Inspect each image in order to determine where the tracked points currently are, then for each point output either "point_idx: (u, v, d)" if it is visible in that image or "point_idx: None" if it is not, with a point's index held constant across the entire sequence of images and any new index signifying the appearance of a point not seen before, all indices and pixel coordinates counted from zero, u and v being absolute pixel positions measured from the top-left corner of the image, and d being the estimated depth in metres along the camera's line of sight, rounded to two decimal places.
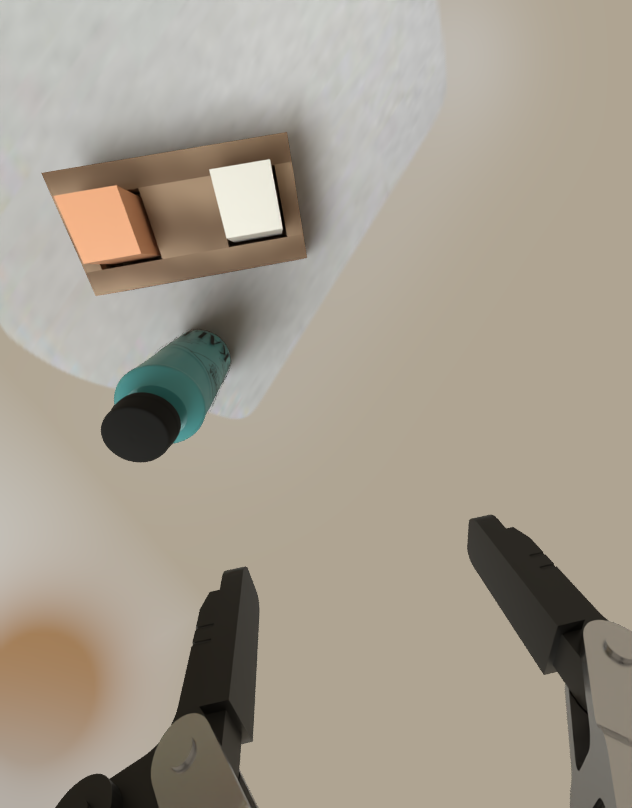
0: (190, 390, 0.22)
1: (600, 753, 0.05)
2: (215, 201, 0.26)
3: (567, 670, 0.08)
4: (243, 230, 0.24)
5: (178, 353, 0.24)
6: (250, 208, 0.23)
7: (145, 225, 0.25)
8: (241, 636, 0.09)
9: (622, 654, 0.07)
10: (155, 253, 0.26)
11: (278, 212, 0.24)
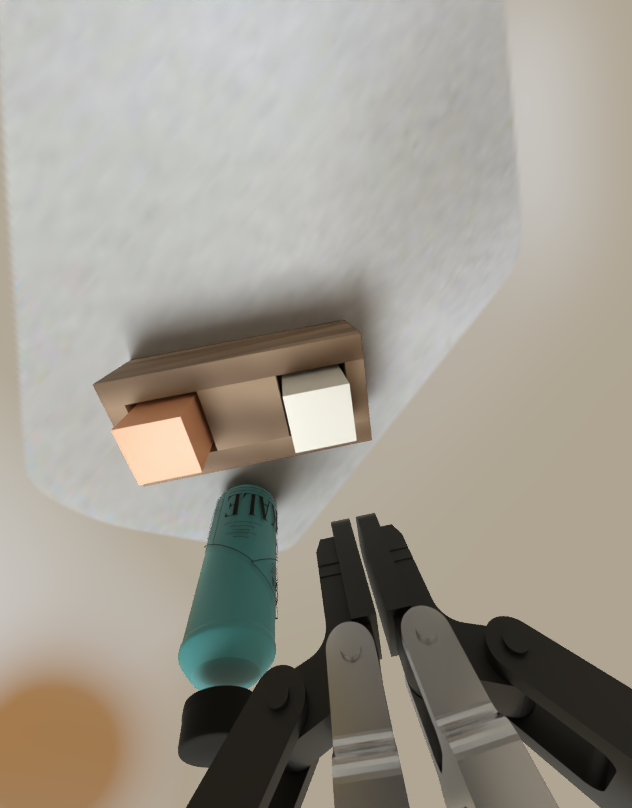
0: (263, 647, 0.19)
1: (451, 759, 0.06)
2: (278, 397, 0.23)
3: (400, 652, 0.08)
4: (314, 445, 0.22)
5: (240, 574, 0.22)
6: (323, 426, 0.21)
7: (201, 424, 0.23)
8: None
9: (425, 634, 0.07)
10: (210, 446, 0.24)
11: (353, 427, 0.21)
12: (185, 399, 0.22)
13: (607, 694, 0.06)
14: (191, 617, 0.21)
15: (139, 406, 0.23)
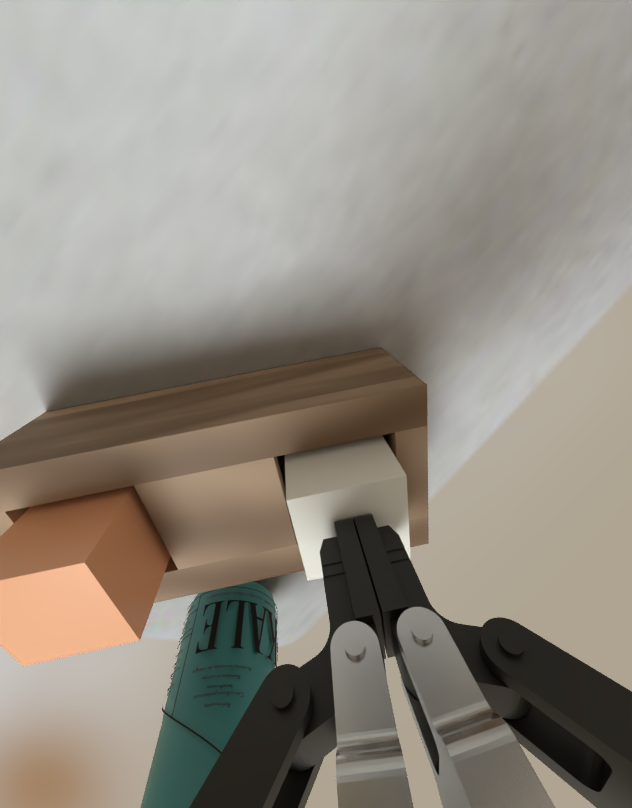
0: None
1: (447, 761, 0.06)
2: (279, 490, 0.14)
3: (396, 653, 0.08)
4: None
5: None
6: None
7: (147, 536, 0.14)
8: None
9: (420, 636, 0.07)
10: (165, 565, 0.15)
11: (407, 540, 0.13)
12: (114, 500, 0.13)
13: (602, 693, 0.06)
14: None
15: (34, 510, 0.13)
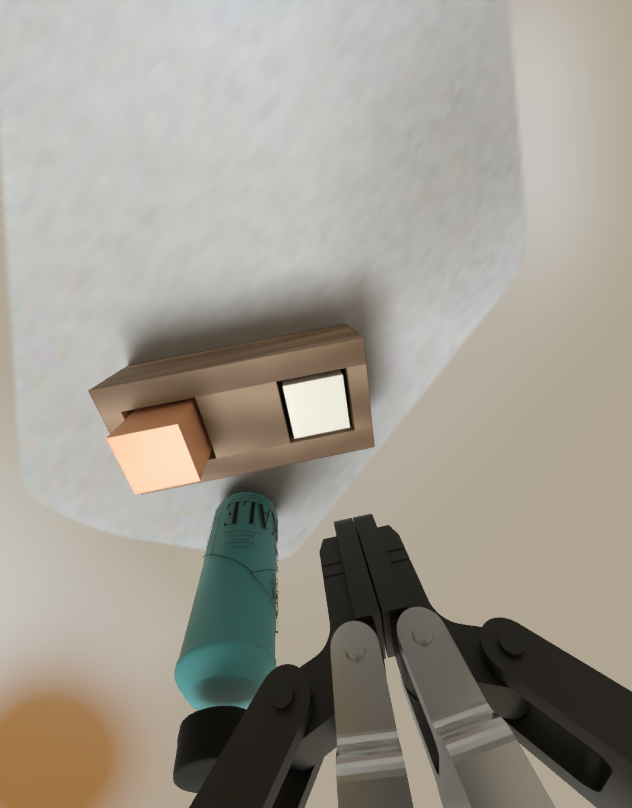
0: (263, 664, 0.19)
1: (447, 761, 0.06)
2: (279, 404, 0.23)
3: (396, 653, 0.08)
4: (311, 431, 0.24)
5: (240, 586, 0.22)
6: (319, 413, 0.23)
7: (200, 431, 0.23)
8: None
9: (420, 635, 0.07)
10: (209, 454, 0.24)
11: (347, 415, 0.24)
12: (183, 405, 0.22)
13: (602, 694, 0.06)
14: (188, 632, 0.20)
15: (136, 413, 0.22)
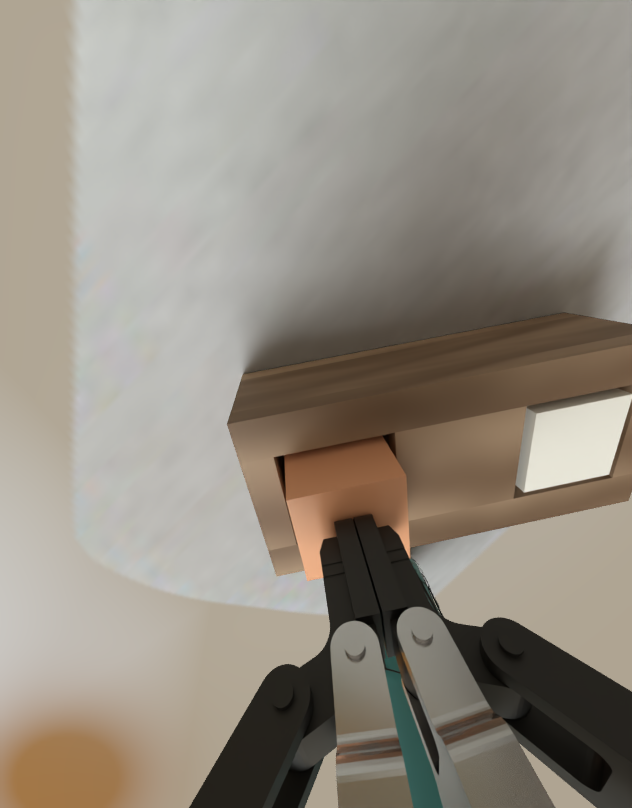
0: None
1: (447, 761, 0.06)
2: (518, 441, 0.14)
3: (396, 652, 0.08)
4: (552, 481, 0.15)
5: None
6: (575, 454, 0.15)
7: None
8: None
9: (420, 636, 0.07)
10: None
11: (612, 456, 0.15)
12: None
13: (602, 694, 0.06)
14: None
15: None
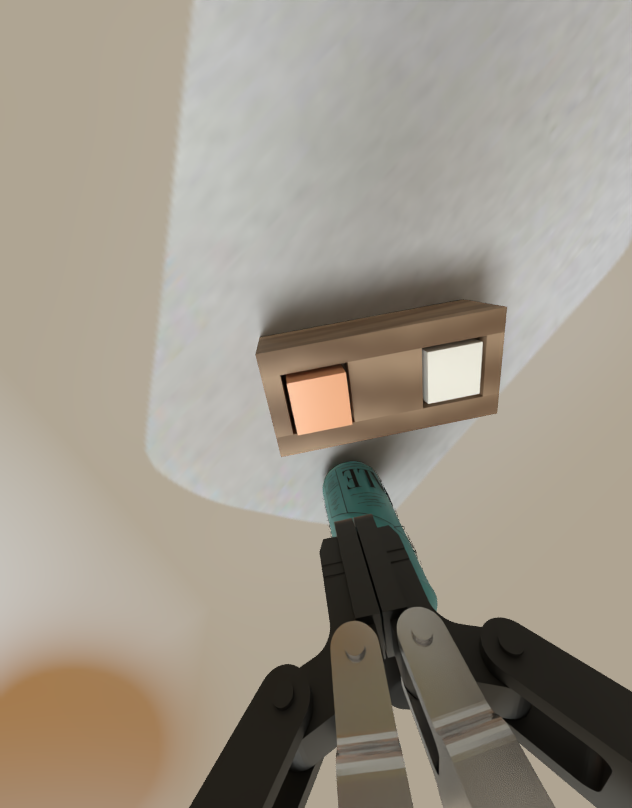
0: (433, 602, 0.20)
1: (447, 761, 0.06)
2: (420, 370, 0.24)
3: (396, 652, 0.08)
4: (444, 397, 0.25)
5: None
6: (455, 379, 0.25)
7: None
8: None
9: (420, 636, 0.07)
10: None
11: (479, 381, 0.25)
12: None
13: (602, 694, 0.06)
14: None
15: None
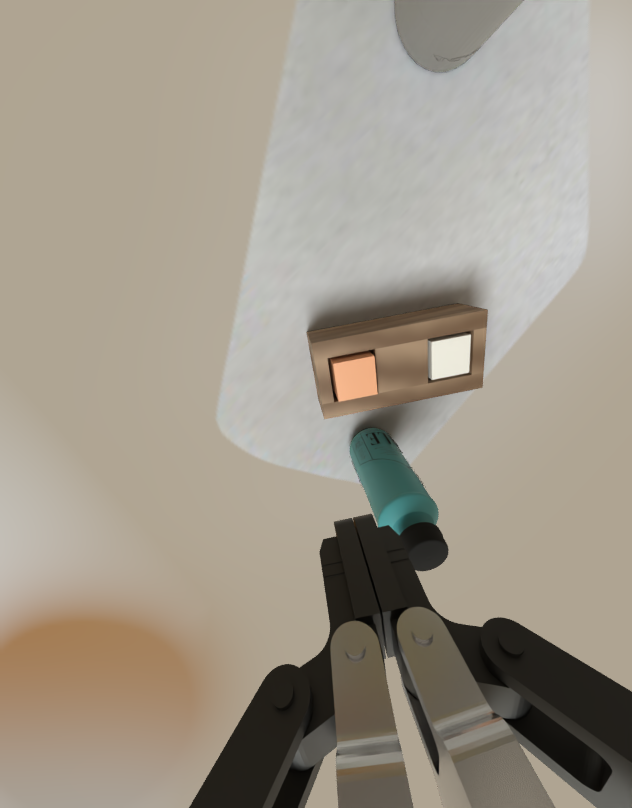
0: (435, 510, 0.30)
1: (447, 761, 0.06)
2: (426, 354, 0.34)
3: (396, 652, 0.08)
4: (443, 375, 0.35)
5: (405, 472, 0.33)
6: (451, 362, 0.35)
7: None
8: None
9: (420, 635, 0.07)
10: None
11: (468, 363, 0.35)
12: None
13: (603, 694, 0.06)
14: (381, 495, 0.31)
15: None
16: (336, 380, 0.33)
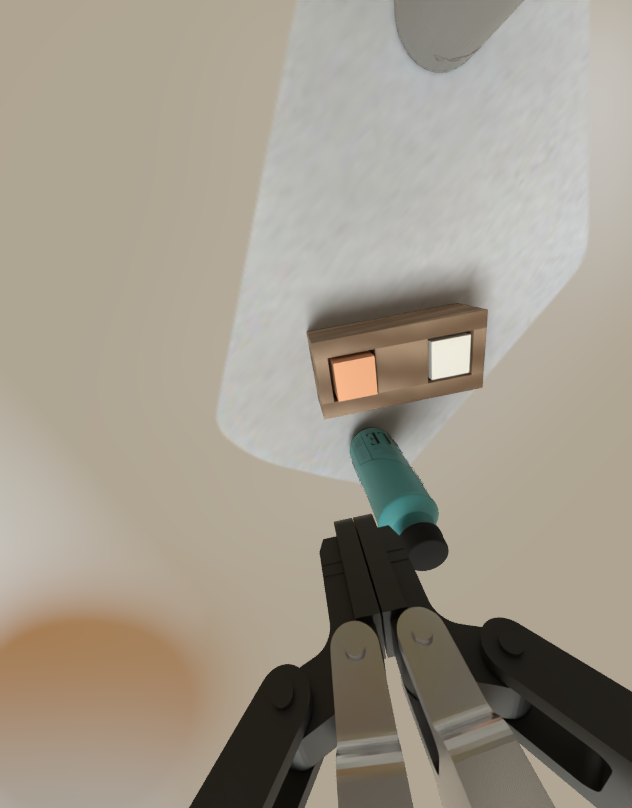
0: (435, 510, 0.30)
1: (447, 761, 0.06)
2: (426, 354, 0.34)
3: (396, 652, 0.08)
4: (443, 375, 0.35)
5: (405, 472, 0.33)
6: (451, 362, 0.35)
7: None
8: None
9: (420, 636, 0.07)
10: None
11: (468, 363, 0.35)
12: None
13: (603, 694, 0.06)
14: (381, 495, 0.31)
15: None
16: (336, 380, 0.33)
